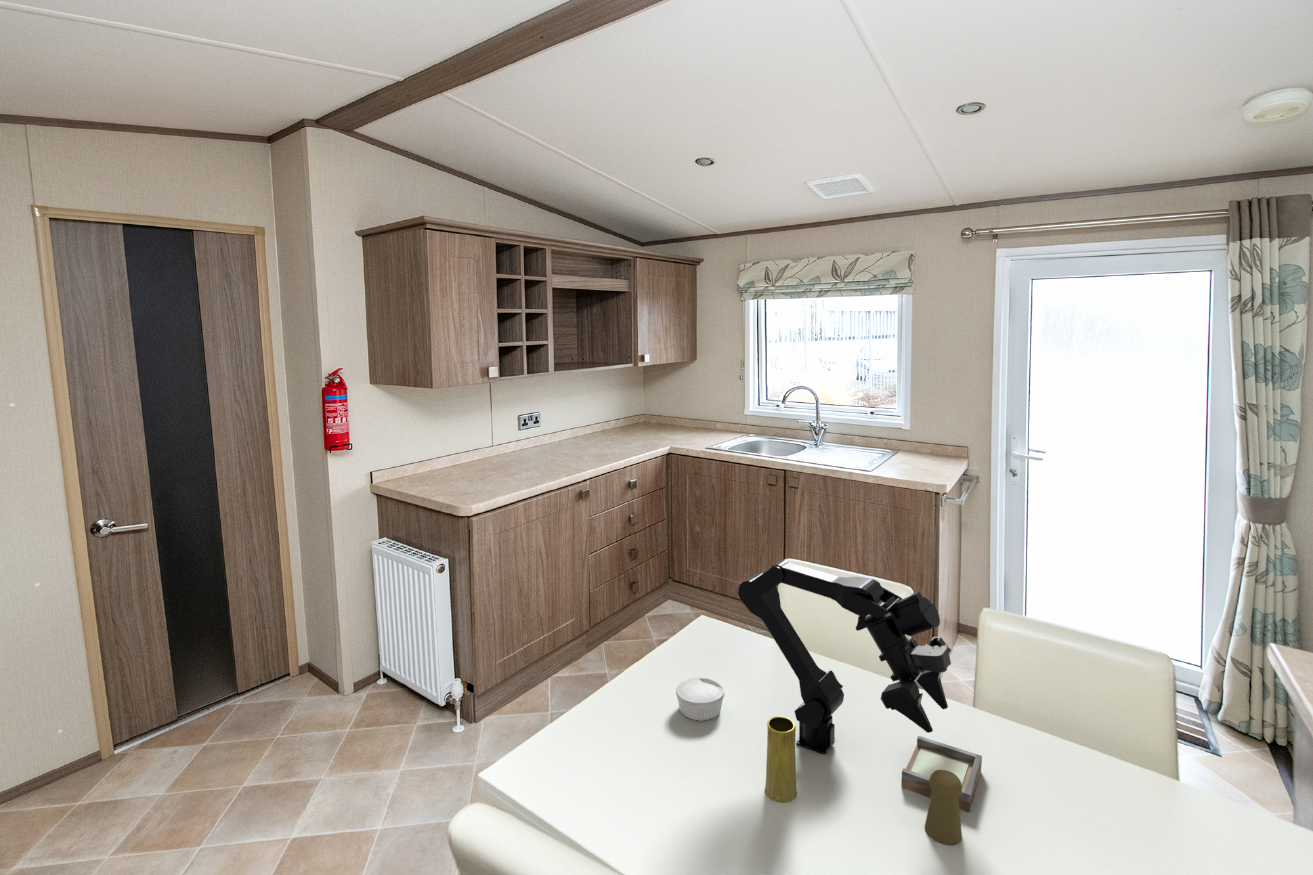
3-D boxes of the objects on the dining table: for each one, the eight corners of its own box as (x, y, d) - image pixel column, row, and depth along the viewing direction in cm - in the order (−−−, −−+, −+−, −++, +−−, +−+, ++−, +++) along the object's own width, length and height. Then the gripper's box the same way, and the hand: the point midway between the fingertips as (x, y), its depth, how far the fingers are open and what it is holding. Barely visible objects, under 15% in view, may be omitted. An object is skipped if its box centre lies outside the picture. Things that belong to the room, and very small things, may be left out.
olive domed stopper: (954, 819, 116) (957, 764, 115) (967, 846, 110) (970, 788, 109) (920, 818, 117) (922, 763, 115) (930, 844, 111) (933, 787, 109)
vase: (778, 807, 121) (778, 737, 118) (758, 787, 126) (758, 720, 124) (803, 795, 123) (804, 727, 121) (783, 776, 129) (783, 710, 126)
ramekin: (732, 705, 154) (732, 684, 153) (710, 729, 145) (710, 708, 144) (691, 692, 160) (691, 672, 159) (667, 715, 150) (667, 694, 150)
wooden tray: (901, 787, 125) (901, 770, 124) (917, 750, 135) (918, 735, 135) (969, 812, 118) (970, 795, 118) (981, 771, 129) (982, 755, 128)
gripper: (911, 649, 113) (963, 735, 109) (944, 611, 127) (990, 686, 123) (860, 667, 120) (907, 748, 116) (896, 629, 134) (939, 701, 130)
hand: (938, 719), depth 121 cm, fingers open, 9 cm apart
